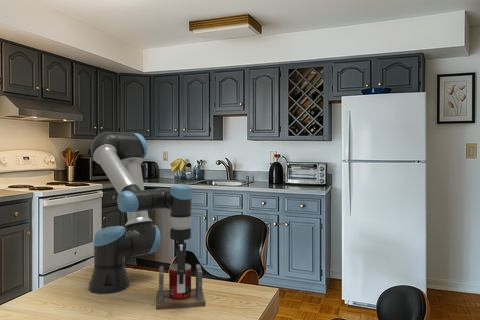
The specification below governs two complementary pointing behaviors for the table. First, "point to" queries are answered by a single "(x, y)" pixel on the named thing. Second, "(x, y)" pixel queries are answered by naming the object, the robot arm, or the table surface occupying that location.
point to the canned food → (173, 282)
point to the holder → (193, 301)
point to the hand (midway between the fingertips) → (180, 286)
